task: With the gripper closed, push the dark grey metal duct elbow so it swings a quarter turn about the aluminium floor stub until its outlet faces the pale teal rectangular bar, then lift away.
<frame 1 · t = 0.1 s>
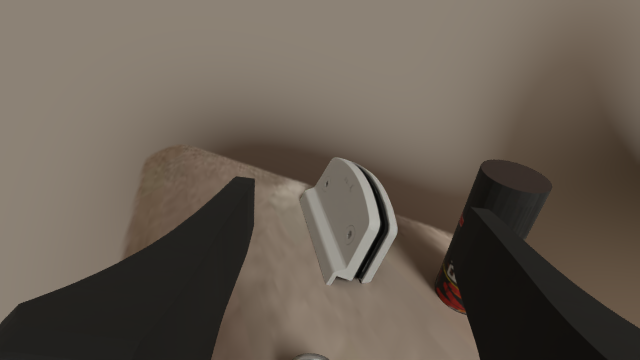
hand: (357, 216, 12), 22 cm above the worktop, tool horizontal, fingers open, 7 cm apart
deodorant: (461, 294, 40), on the worktop
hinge: (340, 237, 46), on the worktop
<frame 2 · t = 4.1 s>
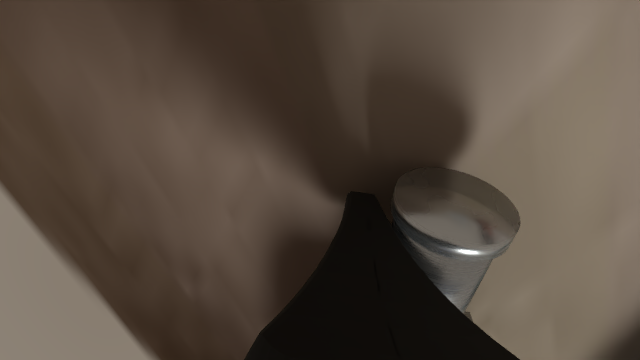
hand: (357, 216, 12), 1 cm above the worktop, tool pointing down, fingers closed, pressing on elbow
elbow: (401, 342, 14), point 2 cm above the worktop, hinge at 0.5°, touching gripper
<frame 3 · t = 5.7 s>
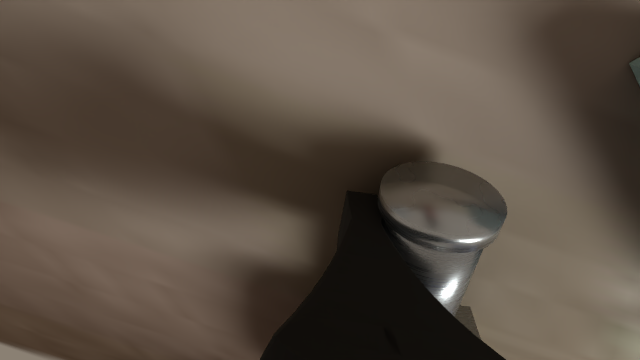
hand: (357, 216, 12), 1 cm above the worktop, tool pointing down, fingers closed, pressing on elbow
elbow: (400, 338, 14), point 2 cm above the worktop, hinge at 45.0°, touching gripper
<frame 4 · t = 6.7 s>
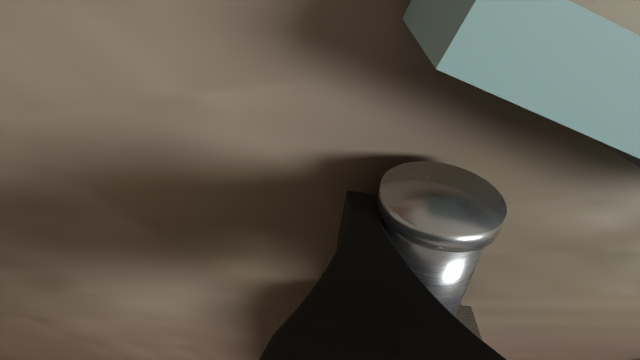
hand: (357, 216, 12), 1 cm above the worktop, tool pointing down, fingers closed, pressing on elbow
elbow: (400, 338, 14), point 2 cm above the worktop, hinge at 71.1°, touching gripper
pale teal rectangular bar: (606, 76, 10), on the worktop
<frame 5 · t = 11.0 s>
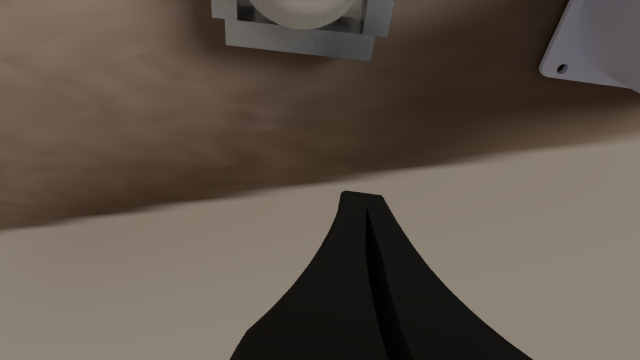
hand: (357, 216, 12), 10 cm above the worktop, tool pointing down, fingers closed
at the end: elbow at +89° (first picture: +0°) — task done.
